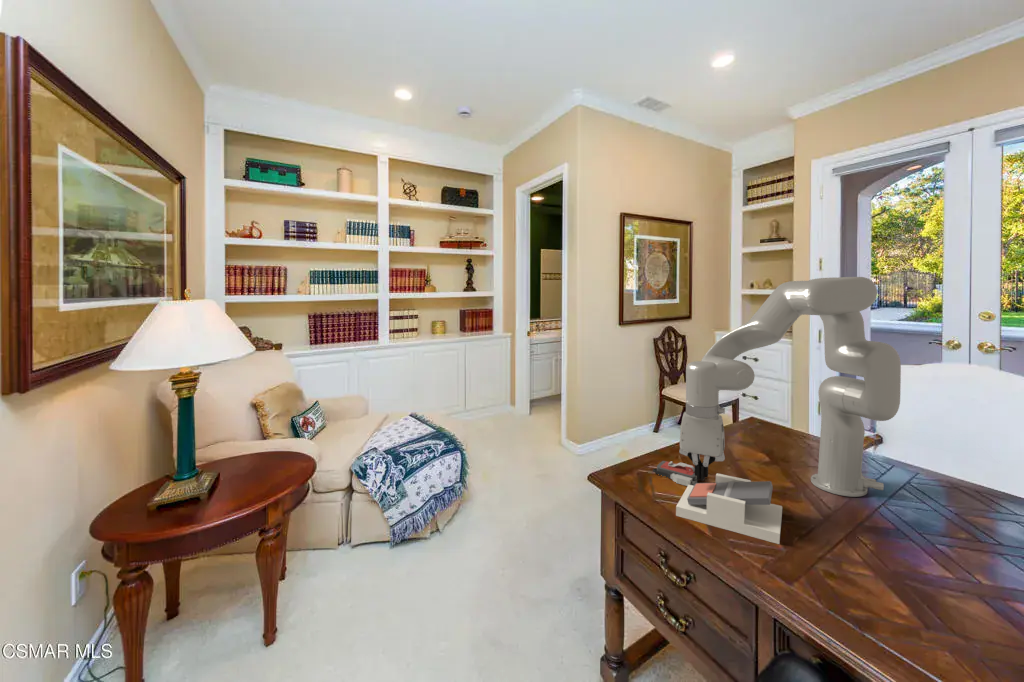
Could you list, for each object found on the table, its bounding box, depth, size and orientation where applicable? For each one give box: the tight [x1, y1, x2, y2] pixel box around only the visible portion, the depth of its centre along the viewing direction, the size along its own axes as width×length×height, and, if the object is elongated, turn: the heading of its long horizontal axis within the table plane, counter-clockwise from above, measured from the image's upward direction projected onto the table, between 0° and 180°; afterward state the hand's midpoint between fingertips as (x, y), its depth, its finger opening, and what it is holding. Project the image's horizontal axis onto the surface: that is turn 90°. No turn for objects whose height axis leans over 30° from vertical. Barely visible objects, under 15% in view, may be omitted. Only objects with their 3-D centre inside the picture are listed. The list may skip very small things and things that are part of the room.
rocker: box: [687, 480, 774, 505], centre depth 103 cm, size 18×10×2 cm, turn 53°
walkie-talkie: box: [652, 460, 701, 487], centre depth 123 cm, size 9×4×20 cm
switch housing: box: [675, 473, 783, 545], centre depth 103 cm, size 22×14×8 cm, turn 55°
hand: (701, 478), depth 107 cm, fingers closed
